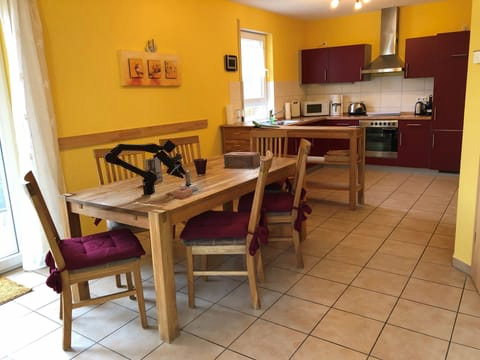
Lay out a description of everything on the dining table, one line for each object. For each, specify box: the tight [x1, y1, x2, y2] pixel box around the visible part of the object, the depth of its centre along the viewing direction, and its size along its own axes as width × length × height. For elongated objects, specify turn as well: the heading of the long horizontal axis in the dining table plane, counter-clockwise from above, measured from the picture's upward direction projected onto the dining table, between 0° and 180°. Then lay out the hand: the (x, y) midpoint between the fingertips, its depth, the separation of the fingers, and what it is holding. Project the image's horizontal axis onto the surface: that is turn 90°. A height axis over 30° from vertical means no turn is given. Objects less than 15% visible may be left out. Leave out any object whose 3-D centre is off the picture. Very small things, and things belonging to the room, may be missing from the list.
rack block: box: [172, 187, 193, 198], centre depth 223 cm, size 8×8×4 cm
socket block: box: [178, 182, 199, 192], centre depth 234 cm, size 8×8×4 cm
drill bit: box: [184, 170, 192, 186], centre depth 233 cm, size 3×3×12 cm
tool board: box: [162, 188, 207, 200], centre depth 229 cm, size 22×16×1 cm
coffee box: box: [144, 157, 164, 184], centre depth 267 cm, size 9×6×16 cm
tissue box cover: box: [223, 151, 262, 169], centre depth 313 cm, size 26×14×10 cm, turn 66°
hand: (185, 176), depth 233 cm, fingers open, 9 cm apart
